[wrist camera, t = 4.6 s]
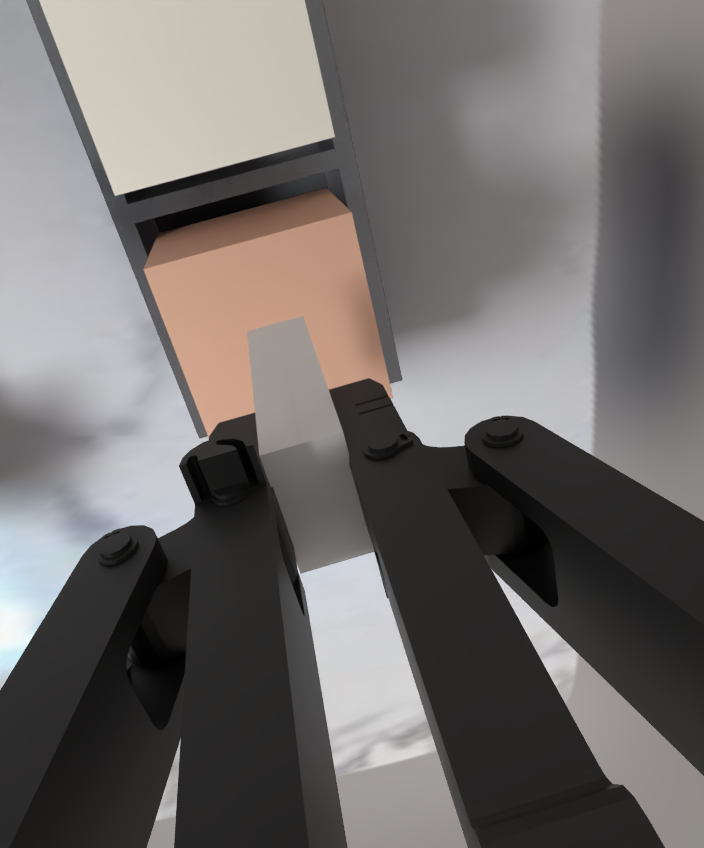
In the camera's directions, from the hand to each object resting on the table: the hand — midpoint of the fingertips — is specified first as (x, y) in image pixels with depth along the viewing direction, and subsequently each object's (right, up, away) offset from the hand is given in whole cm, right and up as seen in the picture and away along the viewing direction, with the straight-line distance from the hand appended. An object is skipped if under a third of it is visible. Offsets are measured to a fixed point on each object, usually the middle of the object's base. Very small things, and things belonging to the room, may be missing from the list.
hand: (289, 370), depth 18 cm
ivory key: (-3, +10, +3) cm, 11 cm away
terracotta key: (-1, +3, +7) cm, 8 cm away
